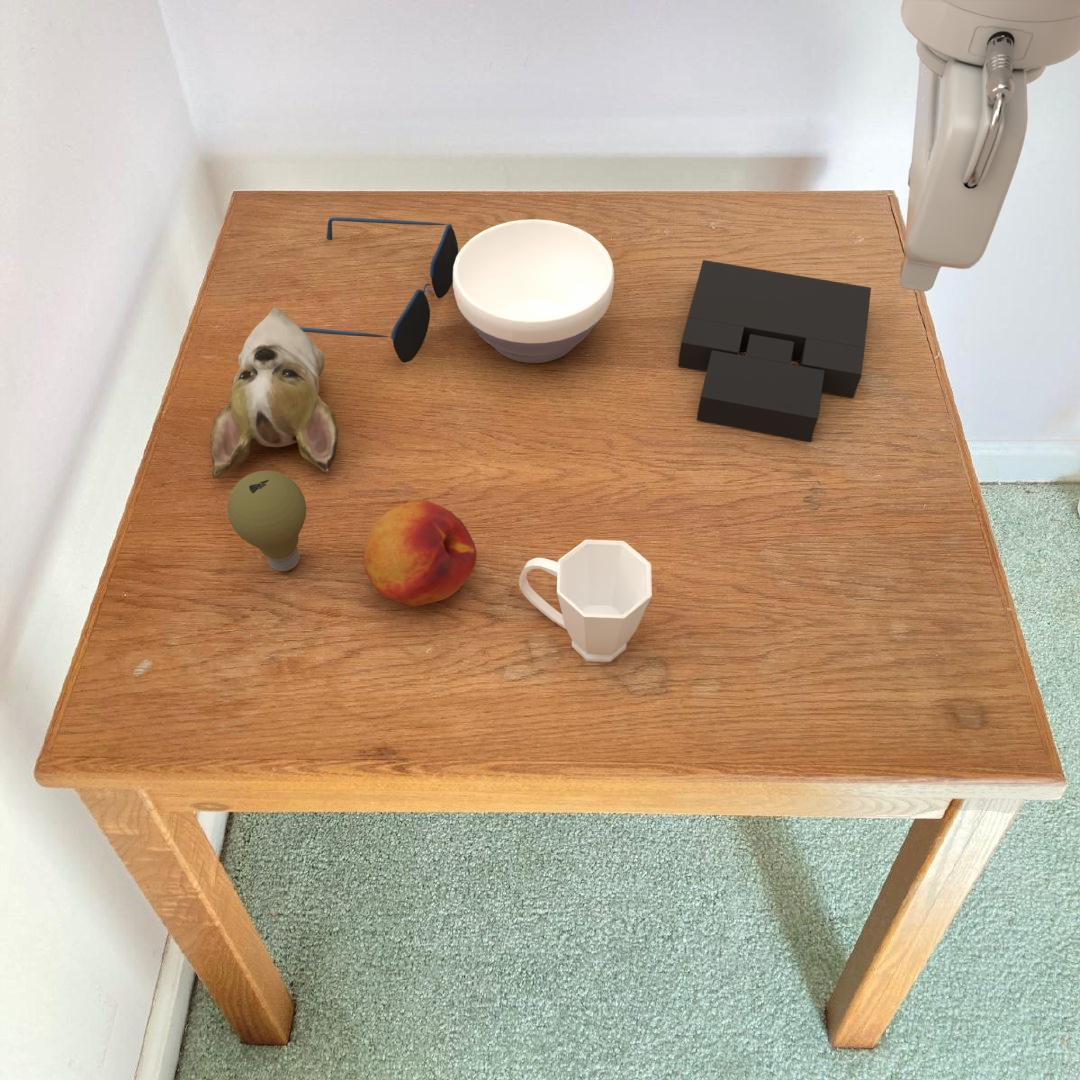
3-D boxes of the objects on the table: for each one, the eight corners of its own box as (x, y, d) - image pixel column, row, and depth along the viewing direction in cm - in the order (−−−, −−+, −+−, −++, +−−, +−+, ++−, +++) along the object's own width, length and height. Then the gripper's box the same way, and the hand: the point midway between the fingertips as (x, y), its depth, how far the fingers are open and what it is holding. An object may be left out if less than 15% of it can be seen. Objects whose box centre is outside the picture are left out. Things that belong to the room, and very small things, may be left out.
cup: (624, 693, 75) (632, 635, 68) (501, 642, 77) (497, 582, 71) (659, 619, 78) (670, 557, 72) (540, 573, 81) (541, 509, 74)
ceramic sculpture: (334, 289, 88) (322, 426, 79) (350, 360, 95) (341, 491, 87) (208, 295, 87) (184, 432, 79) (234, 365, 95) (214, 497, 86)
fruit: (434, 644, 77) (424, 584, 71) (349, 596, 80) (333, 534, 73) (493, 571, 81) (489, 509, 75) (411, 527, 84) (400, 463, 77)
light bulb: (291, 605, 79) (263, 526, 71) (235, 574, 81) (202, 493, 73) (336, 555, 82) (314, 473, 74) (281, 526, 84) (254, 443, 76)
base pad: (863, 312, 99) (871, 287, 97) (853, 398, 92) (861, 374, 90) (699, 284, 102) (703, 259, 99) (677, 366, 95) (681, 342, 92)
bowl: (624, 296, 101) (629, 231, 95) (591, 400, 92) (595, 335, 86) (481, 272, 103) (477, 207, 97) (437, 371, 94) (430, 307, 88)
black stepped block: (820, 371, 94) (828, 347, 92) (810, 442, 89) (817, 418, 87) (712, 352, 96) (717, 327, 94) (696, 420, 91) (700, 396, 88)
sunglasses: (408, 376, 94) (395, 334, 90) (265, 363, 98) (247, 322, 94) (465, 260, 104) (455, 217, 100) (333, 252, 108) (319, 210, 104)
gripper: (1083, 114, 43) (971, 360, 54) (1064, -93, 54) (975, 143, 65) (928, 93, 44) (848, 339, 55) (942, -107, 55) (874, 129, 66)
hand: (918, 231), depth 60 cm, fingers open, 8 cm apart
